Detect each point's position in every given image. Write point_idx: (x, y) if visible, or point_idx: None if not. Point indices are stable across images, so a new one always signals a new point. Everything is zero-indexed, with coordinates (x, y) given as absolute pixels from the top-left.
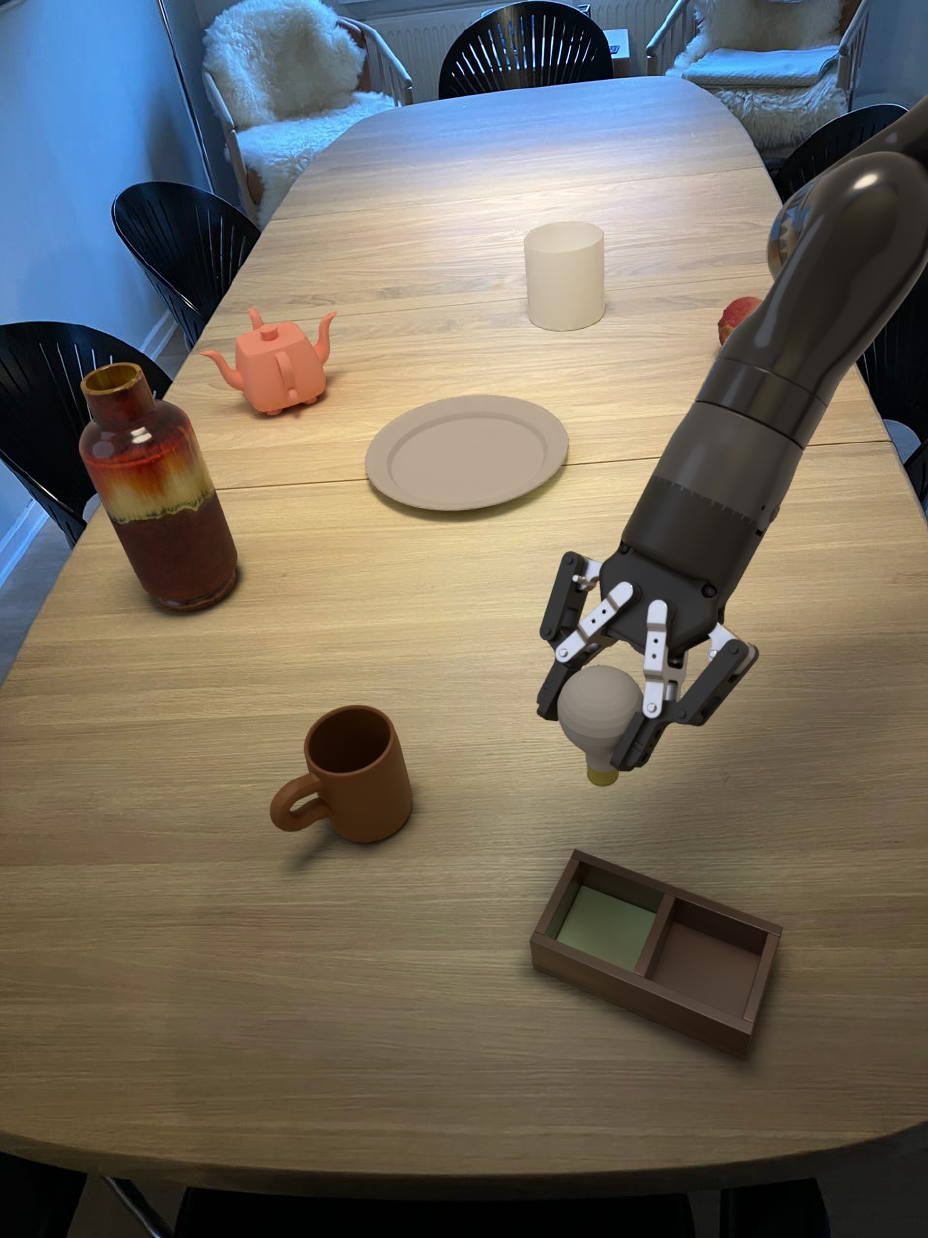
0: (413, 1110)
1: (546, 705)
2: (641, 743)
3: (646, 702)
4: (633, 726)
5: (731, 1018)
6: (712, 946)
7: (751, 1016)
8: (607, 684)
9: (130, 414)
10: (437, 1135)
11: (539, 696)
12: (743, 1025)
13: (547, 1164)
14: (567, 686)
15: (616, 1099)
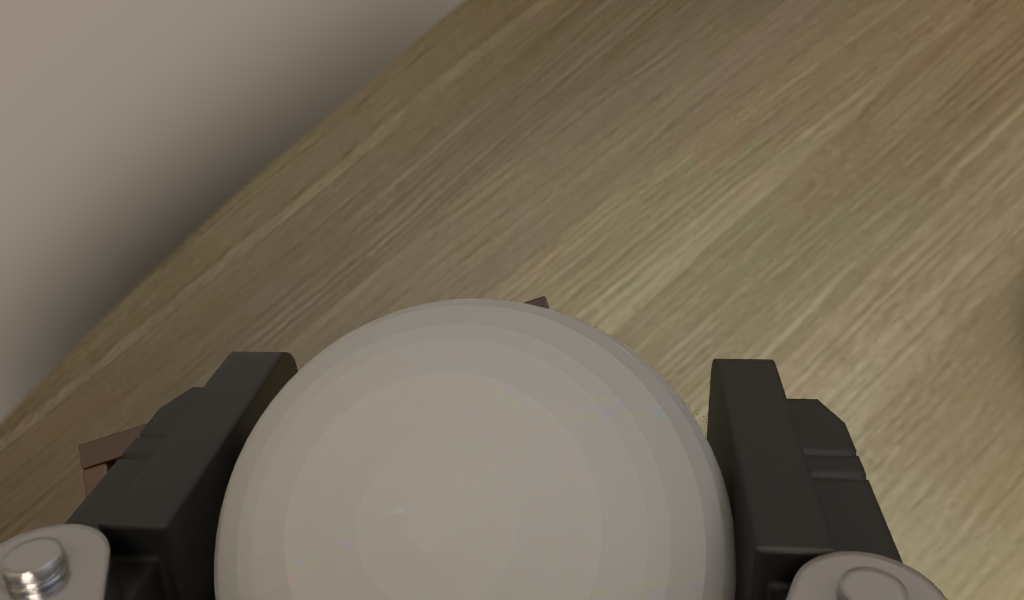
0: (535, 36)
1: (740, 386)
2: (139, 460)
3: (81, 582)
4: (175, 474)
5: (121, 447)
6: None
7: (91, 479)
8: (369, 524)
9: None
10: (479, 40)
11: (826, 419)
12: (96, 451)
13: (321, 126)
14: (642, 415)
15: (289, 264)
